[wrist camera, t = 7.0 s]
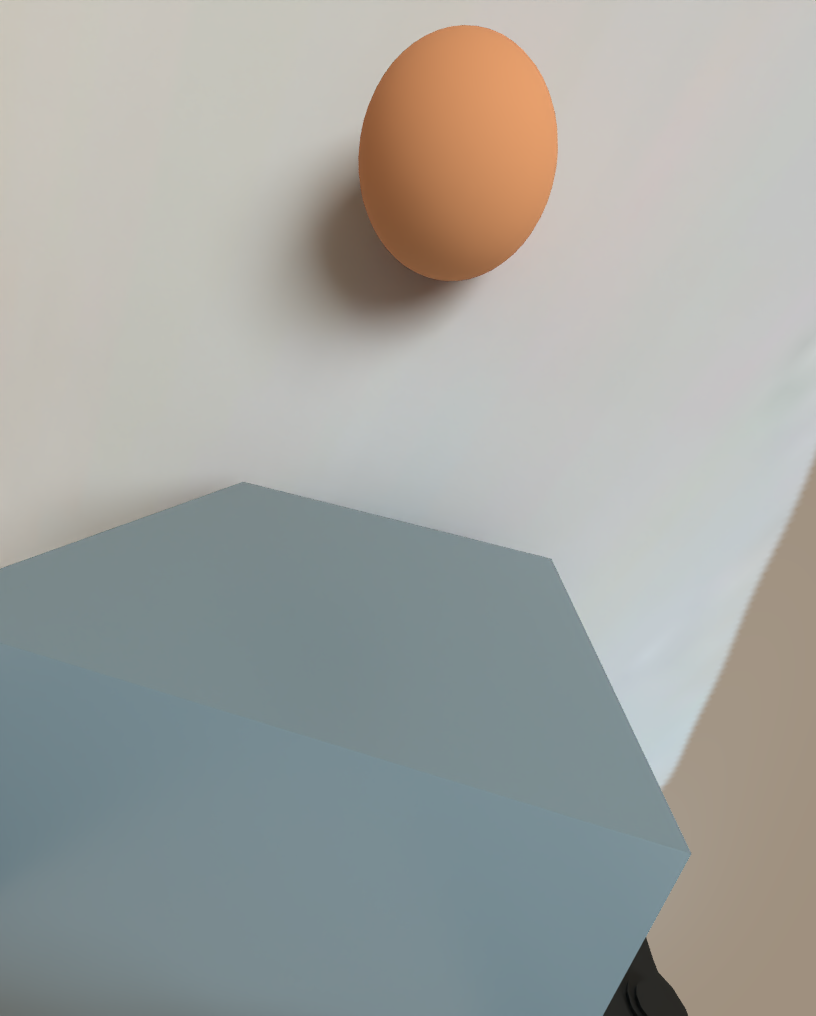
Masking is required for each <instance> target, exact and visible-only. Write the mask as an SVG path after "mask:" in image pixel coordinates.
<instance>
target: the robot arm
mask: <svg viewBox="0 0 816 1016" xmlns="http://www.w3.org/2000/svg"><path fill="white" fill-rule="evenodd" d="M603 1016H688V1014H687V1011H686V1009H685V1007H684V1006H683V1004H682V1002H681V1001H680V999H679V998H678V996H677V994H676V993H675V991H674V990H673V988H672V987H671V986H670V985H669V983H668V982H667V981H666V980H665V979H664V978H663V977H662V976H661V975H660V974H659V973H658V971H657V968H656V966H655V963H654V961H653V958H652V955H651V952H650V948H649V945H648V942H647V939H646V937H645V939H644V941H643V943H642V945H641V947H640V948H639V950H638V952H637V954H636V956H635V957H634V959H633V961H632V963H631V965H630V967H629V968H628V970H627V972H626V974H625V976H624V978H623V979H622V981H621V983H620V985H619V987H618V989H617V990H616V992H615V994H614V996H613V998H612V999H611V1001H610V1003H609V1005H608V1007H607V1009H606V1010H605V1012H604V1014H603Z"/></svg>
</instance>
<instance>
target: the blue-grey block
mask: <svg viewBox="0 0 816 1016" xmlns="http://www.w3.org/2000/svg"><path fill="white" fill-rule="evenodd" d="M690 855H691V852H690V850H689V848H688V846H687V844H686V842H685V840H684V837H683V835H682V833H681V831H680V829H679V827H678V825H677V823H676V821H675V818H674V816H673V814H672V812H671V810H670V808H669V806H668V804H667V802H666V799H665V797H664V795H663V793H662V791H661V789H660V787H659V785H658V783H657V781H656V778H655V776H654V774H653V772H652V770H651V768H650V766H649V764H648V762H647V759H646V757H645V755H644V753H643V751H642V749H641V747H640V745H639V743H638V741H637V738H636V736H635V734H634V732H633V730H632V728H631V726H630V724H629V722H628V719H627V717H626V715H625V713H624V711H623V709H622V707H621V705H620V703H619V701H618V698H617V696H616V694H615V692H614V690H613V688H612V686H611V684H610V682H609V679H608V677H607V675H606V673H605V671H604V669H603V667H602V665H601V663H600V661H599V658H598V656H597V654H596V652H595V650H594V648H593V646H592V644H591V642H590V639H589V637H588V635H587V633H586V631H585V629H584V627H583V625H582V623H581V620H580V618H579V616H578V614H577V612H576V610H575V608H574V606H573V604H572V602H571V599H570V597H569V595H568V593H567V591H566V589H565V587H564V585H563V583H562V580H561V578H560V576H559V574H558V572H557V570H556V568H555V566H554V564H553V562H552V559H550V558H546V557H542V556H538V555H534V554H530V553H526V552H522V551H518V550H514V549H510V548H506V547H502V546H498V545H494V544H490V543H486V542H482V541H478V540H474V539H470V538H466V537H462V536H458V535H454V534H450V533H446V532H442V531H438V530H434V529H430V528H426V527H422V526H418V525H414V524H410V523H406V522H402V521H398V520H394V519H390V518H386V517H382V516H378V515H374V514H370V513H366V512H362V511H358V510H354V509H350V508H346V507H342V506H338V505H334V504H330V503H326V502H322V501H318V500H314V499H310V498H306V497H302V496H298V495H294V494H290V493H286V492H282V491H278V490H274V489H270V488H266V487H262V486H258V485H254V484H250V483H246V482H242V483H239V484H236V485H233V486H230V487H228V488H225V489H222V490H219V491H216V492H214V493H211V494H208V495H205V496H202V497H200V498H197V499H194V500H191V501H188V502H186V503H183V504H180V505H177V506H174V507H172V508H169V509H166V510H163V511H160V512H158V513H155V514H152V515H149V516H147V517H144V518H141V519H138V520H135V521H133V522H130V523H127V524H124V525H121V526H119V527H116V528H113V529H110V530H107V531H105V532H102V533H99V534H96V535H93V536H91V537H88V538H85V539H82V540H79V541H77V542H74V543H71V544H68V545H65V546H63V547H60V548H57V549H54V550H51V551H49V552H46V553H43V554H40V555H37V556H35V557H32V558H29V559H26V560H24V561H21V562H18V563H15V564H12V565H10V566H7V567H4V568H1V569H0V1016H603V1014H604V1012H605V1010H606V1009H607V1007H608V1005H609V1003H610V1001H611V999H612V998H613V996H614V994H615V992H616V990H617V989H618V987H619V985H620V983H621V981H622V979H623V978H624V976H625V974H626V972H627V970H628V968H629V967H630V965H631V963H632V961H633V959H634V957H635V956H636V954H637V952H638V950H639V948H640V947H641V945H642V943H643V941H644V939H645V937H646V936H647V934H648V932H649V930H650V928H651V926H652V925H653V923H654V921H655V919H656V917H657V915H658V914H659V912H660V910H661V908H662V906H663V905H664V902H665V901H666V899H667V897H668V895H669V893H670V891H671V890H672V888H673V886H674V884H675V883H676V881H677V879H678V877H679V875H680V873H681V871H682V870H683V868H684V866H685V864H686V862H687V861H688V859H689V857H690Z"/></svg>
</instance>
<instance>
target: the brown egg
mask: <svg viewBox="0 0 816 1016" xmlns="http://www.w3.org/2000/svg"><path fill="white" fill-rule="evenodd" d="M557 153H558V143H557V124H556V117H555V111H554V108H553V104H552V101H551V97H550V94H549V91H548V89H547V86H546V84H545V82H544V79H543V77H542V75H541V74H540V72H539V70H538V69H537V67H536V65H535V64H534V63H533V62H532V60H531V59H530V58H529V57H528V55H527V54H526V53H525V52H524V51H523V50H522V49H521V48H520V47H519V46H518V45H517V44H516V43H514V42H513V41H512V40H510V39H509V38H507V37H506V36H504V35H503V34H501V33H498V32H496V31H493V30H491V29H488V28H483V27H479V26H468V25H461V26H452V27H447V28H444V29H440V30H437V31H435V32H433V33H430V34H428V35H426V36H424V37H423V38H421V39H419V40H418V41H416V42H415V43H413V44H412V45H411V46H409V47H408V48H407V49H406V50H405V51H403V52H402V53H401V54H400V55H399V57H398V58H397V59H396V60H395V61H394V62H393V63H392V64H391V66H390V67H389V68H388V70H387V71H386V72H385V74H384V75H383V77H382V79H381V81H380V82H379V84H378V86H377V88H376V90H375V92H374V94H373V96H372V99H371V101H370V103H369V106H368V109H367V112H366V115H365V118H364V122H363V127H362V132H361V137H360V146H359V157H358V159H359V178H360V186H361V193H362V198H363V202H364V206H365V209H366V211H367V214H368V217H369V219H370V222H371V224H372V226H373V228H374V230H375V232H376V234H377V236H378V237H379V239H380V240H381V242H382V243H383V245H384V246H385V247H386V248H387V249H388V251H389V252H390V253H391V254H392V255H393V256H394V257H395V258H396V259H397V260H398V261H399V262H401V263H402V264H403V265H404V266H406V267H407V268H409V269H410V270H412V271H414V272H416V273H418V274H420V275H423V276H425V277H428V278H432V279H436V280H443V281H460V280H466V279H471V278H474V277H477V276H480V275H482V274H485V273H487V272H489V271H491V270H493V269H494V268H496V267H497V266H499V265H500V264H502V263H503V262H505V261H506V260H507V259H508V258H509V257H511V256H512V255H513V254H514V253H515V252H516V251H517V250H518V249H519V248H520V247H521V246H522V245H523V243H524V242H525V241H526V239H527V238H528V237H529V235H530V234H531V233H532V231H533V229H534V227H535V226H536V224H537V222H538V221H539V219H540V217H541V215H542V213H543V211H544V208H545V206H546V204H547V201H548V198H549V195H550V192H551V189H552V185H553V180H554V175H555V170H556V164H557Z"/></svg>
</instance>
